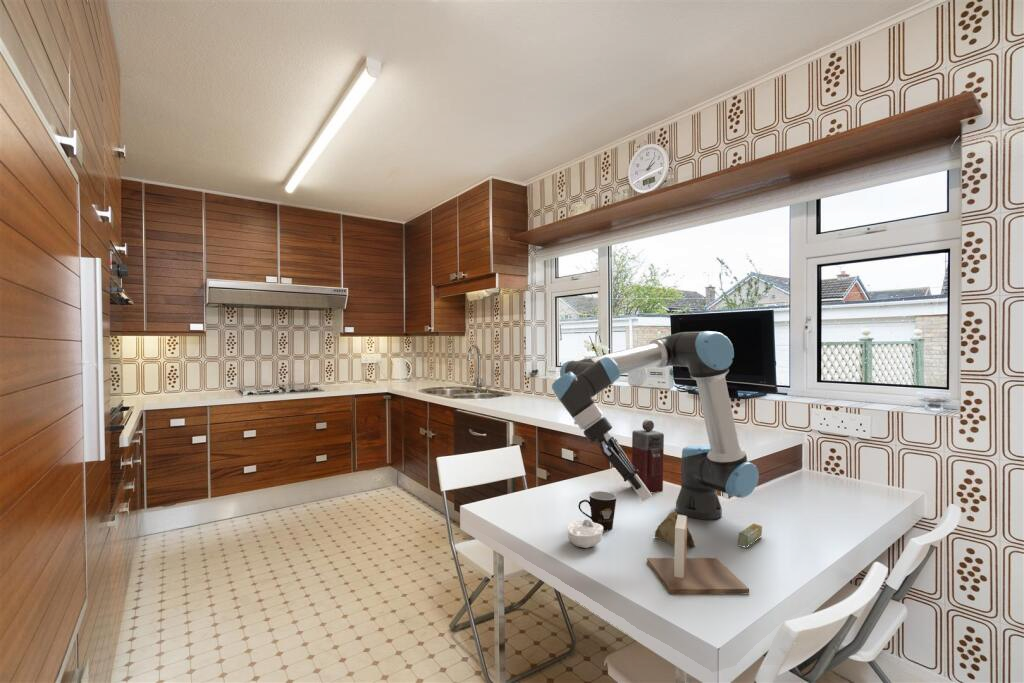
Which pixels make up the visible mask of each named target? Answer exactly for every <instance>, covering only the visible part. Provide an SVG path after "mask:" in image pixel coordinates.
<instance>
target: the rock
mask: <svg viewBox="0 0 1024 683" xmlns="http://www.w3.org/2000/svg"><path fill="white" fill-rule="evenodd" d="M678 515H681V514H680V513H679V512H677V511H673V512H670V513H669V514H668V516H666V517H665V519H664V520H663V521H662V522H660V524H659V525H658V526H657V529H656V530H655V532H654V538H656V539H658V540H662V541H663V542H665V543H668V544H670V545H672V546H675V526H676V521H677V516H678ZM693 548H696V545H695V541H694V538H693V535H692V533H691V531H689V528H688V527H687V549H693Z"/></svg>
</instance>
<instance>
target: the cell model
mask: <svg viewBox="0 0 1024 683" xmlns="http://www.w3.org/2000/svg"><path fill="white" fill-rule="evenodd" d="M603 533H604V531H603V526H602V525H600V524H598V523H594V522H592V520H591V519H590V518H589V519H588V518H587V519H585V520H578V521H575V522H571V523H569V524H568V525H567V534H568V536H567V537H568V540H569V541H570V542H571V543H572V544H573V545H575V546H576V547H578V548H579V547H580V548H584V549H589V548H590V547H594V546H597V545H599V543H600V542H601V541H602V538H603Z"/></svg>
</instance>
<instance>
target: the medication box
mask: <svg viewBox="0 0 1024 683" xmlns="http://www.w3.org/2000/svg"><path fill="white" fill-rule="evenodd" d="M762 533H763V525H759V524H757V523H752V524H750V525H749V526H748V527H746V528H744V529H743V530H741V531H740V532H738V540H737V546H738V545H741V546H745V547H747V546H748V545H750V544H751V543H753V542H754V541H755V540H756V539H757V538H759V537H760V536H761V537H762ZM754 543H755V542H754ZM754 543H753V544H754ZM741 546H740V547H741ZM750 546H751V545H750Z"/></svg>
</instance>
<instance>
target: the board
mask: <svg viewBox="0 0 1024 683" xmlns="http://www.w3.org/2000/svg"><path fill="white" fill-rule="evenodd" d="M646 563H647V565H648V566H649V567H650V569H651V570H652V572H653V573H654V572H655V573H654V574H655V576H656V577H657V579H658V580H659V579H660V580H659V582H661V583H663V584H662V585H663V586H664V587H665V589H666V591H667V590H668V591H667V592H668V593H669V595H722V594H721V593H725V594H724V595H731V594H730V593H749V594H750V587H748V586H747V585H746V584H745V583H744V582H743V581H742V580H741V579H740V578H739V577H737V575H735V574H734V573H733V572H732V571H731V570H730V569H729V568H728V567H727V566H725V564H723V563H722V562H721V561H720V560H719V559H718V558H717V557H686V569H685V577H684V578H679V577H674V557H647V558H646Z"/></svg>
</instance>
